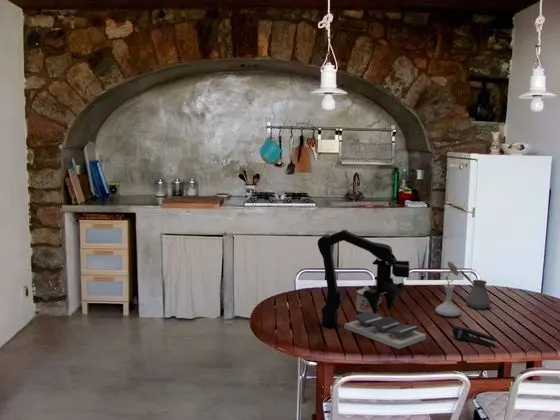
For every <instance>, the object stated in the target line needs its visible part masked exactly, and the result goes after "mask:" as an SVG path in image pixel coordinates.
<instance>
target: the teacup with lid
mask: <svg viewBox="0 0 560 420" xmlns="http://www.w3.org/2000/svg"><path fill="white" fill-rule="evenodd" d="M369 289H370V287H369V286H368V285H365V286H364V287H363V288H360V289H358V290H357V291H356V309H355V310H356V311H357V312H358V313H361V314H363V313H366V312H370V311H372V308H371V306H370V304H369V302H368V300H367V299H366V298H365V297H363V292H364V291H365V290H369ZM379 299H380V300H379V301H378V303H377V306H378V305H380V304H381V301H382V298H381V296H380V298H379Z"/></svg>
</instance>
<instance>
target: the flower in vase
mask: <svg viewBox="0 0 560 420" xmlns="http://www.w3.org/2000/svg"><path fill="white" fill-rule="evenodd" d="M447 266H448V268H449V272H448V274H447V276H445V280H446V281H447V284H444V285H443V287H444V289H445V294H446V296H445V300H444V302H442V303H440V304H438V305H437V306H436V307H435V312H436V313H437V314H438V315H441V316H445V317H457V316H459V315H461V313H462V312H461V309H459V307H458V306H456V305H455V303H453V302H452V293H453V290H454V289H455V288H456V286H455V285H453V284H450V283H451V282H454V279H452V280H450V281H449V275H450V274H451V272H452V274H454V275H455V276H456V277H457V276H459V275H460V274H459V272H460V271H459V270H458V269H457V266H456V265H455V264H454V262H452V261H451V260H449V261H447Z"/></svg>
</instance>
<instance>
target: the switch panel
mask: <svg viewBox="0 0 560 420" xmlns="http://www.w3.org/2000/svg"><path fill="white" fill-rule="evenodd" d="M343 327H344V329H345V330H348V331H350V332H353V333H355V334H358V335H361V336H363V337H366V338H368V339H371V340H374V341H377V342H379V343H381V344H384V345H388V347H389V346H390V347H393V348H395V349H397V350H400V349H403V348H405V347H409V346H412V345H415V344H417V343H419V342H423V341H425V340H427V334H425V333H424V332H423V333H422V332H419V331H417V330H414V331H411V332H409V333H406V334H403V335H397V334H390V333H387V330H386V331H381V330H379V329H378V328H376V327H374V326H372V325H371V324H370V325H367V326H365V325H364V324H362V323H361V322H359V321H358V320H356V319H355V320H353V321H350V322H346V323H344V326H343ZM398 327H399V326H398ZM395 328H396V327H395ZM392 329H393V328H392ZM389 330H390V329H389Z"/></svg>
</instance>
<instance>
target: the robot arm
mask: <svg viewBox="0 0 560 420" xmlns="http://www.w3.org/2000/svg"><path fill="white" fill-rule="evenodd" d="M342 241H344V242H347V243H348V244H351V245H353V246H356V247H358V248H360V249H363V250H365V251H367V252H368V253H370V254H372V255H373V256H374V257H375V260H374V261H372V265H375V266H377V267H376V276H374V280H375V281H376V282H375V283H376V284H375V285H376V286H374V287H373V289H371V288H369V290H365V291H364V292H363V297H365V298H366V299H367V300H368V302H369V304H370V306H371V308H372V311H373V313H374V314H376V313H377V312H378V311H377V310H378V305H377V303H378V302H379V300H380V299H379V298H380V297H381V295H385V300H386V301H385V302H386V307H387V310H389V311H390V310H391V309H392V306H393V304H394V301H395V299H396V298H397V297H400V296H401V294H402V293H403V292H405V291H404V287H405V286H404V285H405V284H404V283H402V282H399V283H395V282H394V279H393V278H392V277H391V276H392V275H393V276H394V277H396V278H406V279H409V277H410V261H409V260H397V259H398V258H397V257H396V256H395V254H394V253H393V248H392V247H391V246H390V245H389V244H386V243H381V242H375V241H371V240H369V239H367V238H365V237H361V236H359V235H357V234H355V233H352V232H351V231H348V230H347V229H342V230H340V231H338V232H335V233H332V234H324V235H322V236H321V237H320V238H319V239H318V240H317V247H318V251H319V253H320V254H321V258H322V260H323V267H324V273H325V281H326V285H327V286H326V287H327V293H326V303H325V304H324V305H323V306H322V308H321V322H320V323H319V325H320V326H322V327H325V328H327V329H333V328H336V327H340V324H339V323H338V320H339V313H338V310H339V308H340V307H341V306H342V304H343V302H344V300H345V298H344V295H343V294H344V291H343V290H340V289H339V287H338V281H337V276H336V268H335V263H334V262H335V261H334V248H335V247H334V246H335V245H336V244H337V243H340V242H342Z"/></svg>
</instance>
